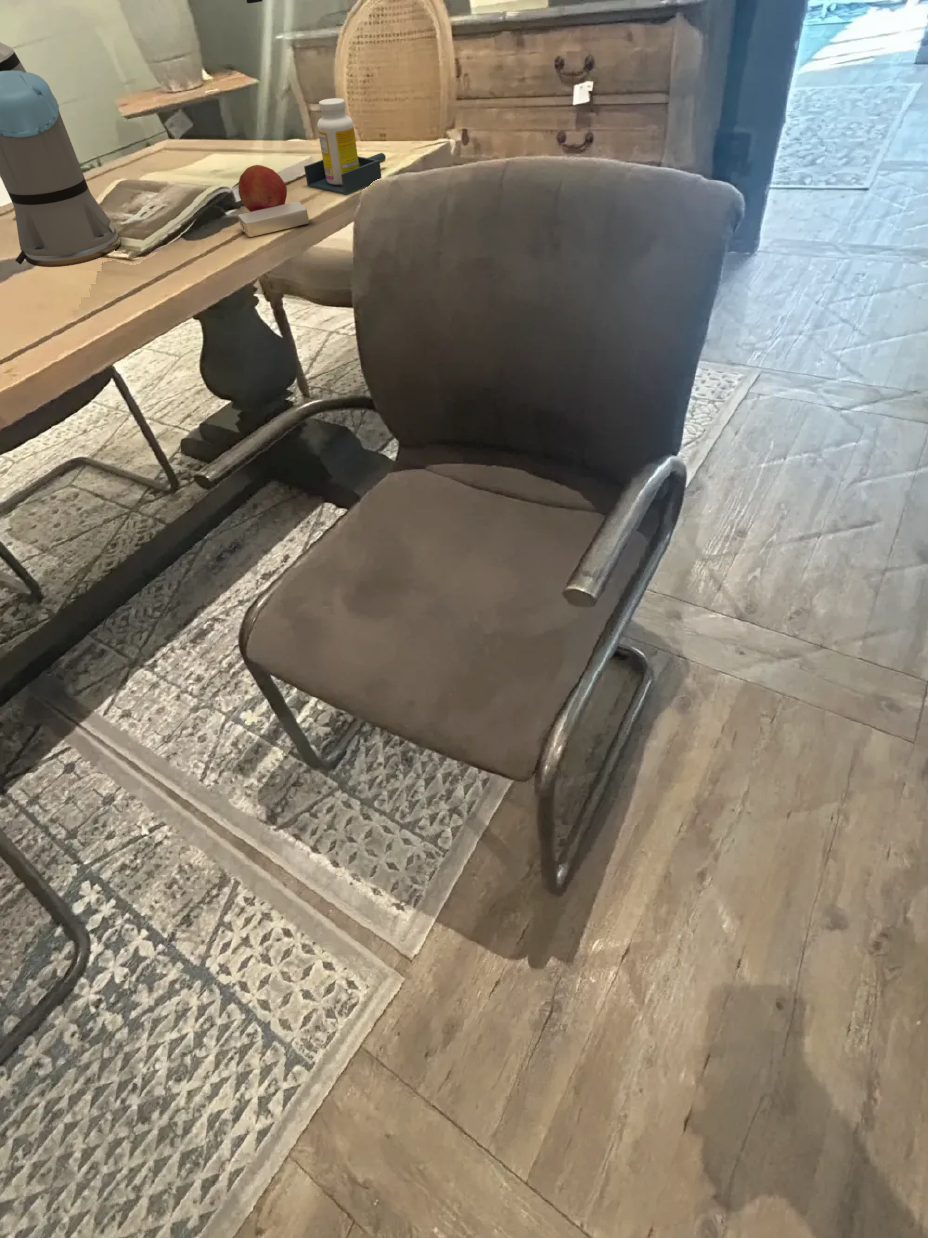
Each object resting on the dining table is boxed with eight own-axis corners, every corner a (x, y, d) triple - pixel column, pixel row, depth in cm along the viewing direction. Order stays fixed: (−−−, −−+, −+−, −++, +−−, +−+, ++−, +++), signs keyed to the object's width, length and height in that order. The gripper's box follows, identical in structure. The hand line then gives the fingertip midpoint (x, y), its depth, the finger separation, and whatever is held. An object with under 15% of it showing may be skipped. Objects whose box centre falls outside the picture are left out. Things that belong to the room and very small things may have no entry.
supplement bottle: (365, 176, 140) (355, 96, 131) (354, 187, 136) (343, 105, 126) (333, 175, 141) (321, 96, 132) (321, 186, 137) (307, 105, 128)
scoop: (346, 194, 134) (342, 174, 131) (307, 186, 139) (303, 166, 136) (404, 171, 143) (403, 151, 140) (366, 163, 147) (364, 144, 145)
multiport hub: (298, 201, 124) (301, 215, 126) (237, 214, 121) (241, 229, 123) (307, 209, 122) (310, 223, 124) (245, 223, 119) (249, 238, 120)
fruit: (297, 181, 128) (291, 234, 127) (257, 186, 130) (251, 238, 129) (274, 148, 120) (267, 204, 119) (232, 154, 122) (225, 209, 121)
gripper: (264, -195, 102) (294, 0, 118) (163, -182, 114) (202, -6, 129) (221, -195, 98) (259, 6, 114) (121, -183, 110) (167, -1, 125)
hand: (229, 0), depth 121 cm, fingers open, 13 cm apart
